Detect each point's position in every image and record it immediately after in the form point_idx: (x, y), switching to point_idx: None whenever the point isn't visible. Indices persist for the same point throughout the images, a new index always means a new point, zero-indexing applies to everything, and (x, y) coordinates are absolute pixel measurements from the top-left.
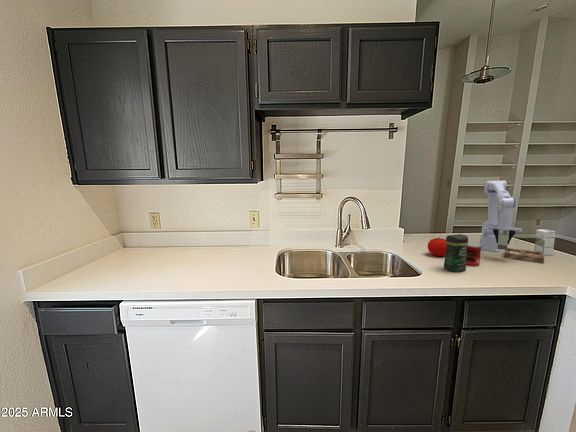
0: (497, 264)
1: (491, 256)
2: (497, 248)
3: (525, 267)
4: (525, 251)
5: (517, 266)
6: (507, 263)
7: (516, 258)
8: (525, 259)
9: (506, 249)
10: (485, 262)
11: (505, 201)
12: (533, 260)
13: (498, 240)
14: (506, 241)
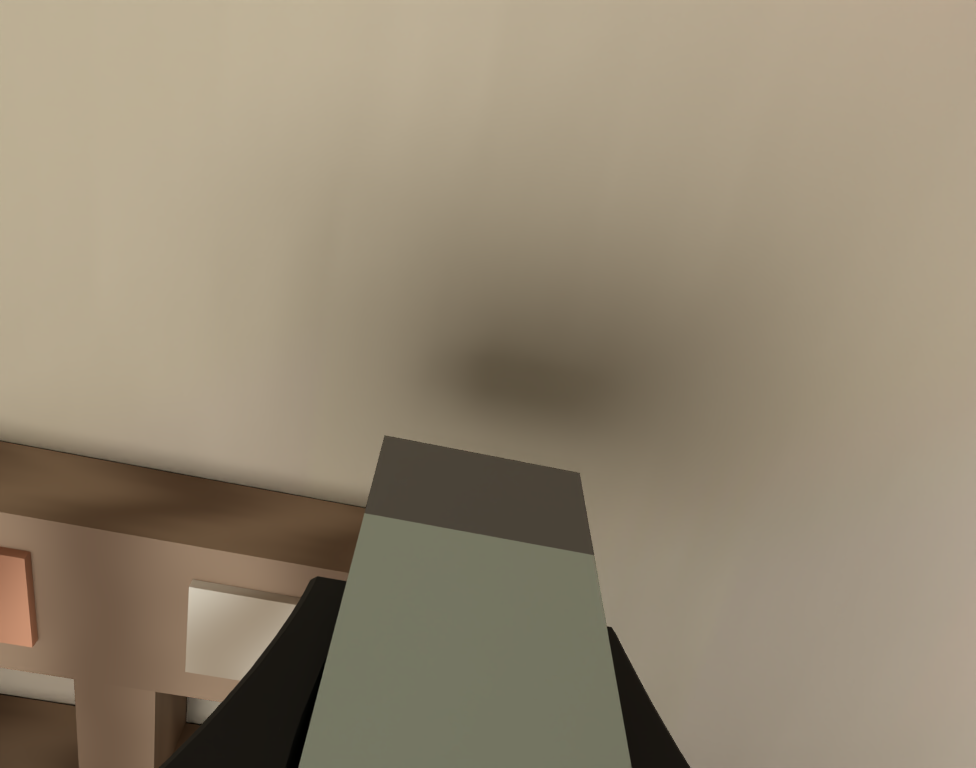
0: (610, 17)
1: None
2: (577, 481)
3: (128, 25)
4: (87, 758)
5: (260, 35)
6: (407, 190)
7: (236, 501)
8: (112, 481)
9: (391, 445)
10: (812, 77)
11: None
12: (3, 463)
13: (603, 663)
14: (373, 617)
